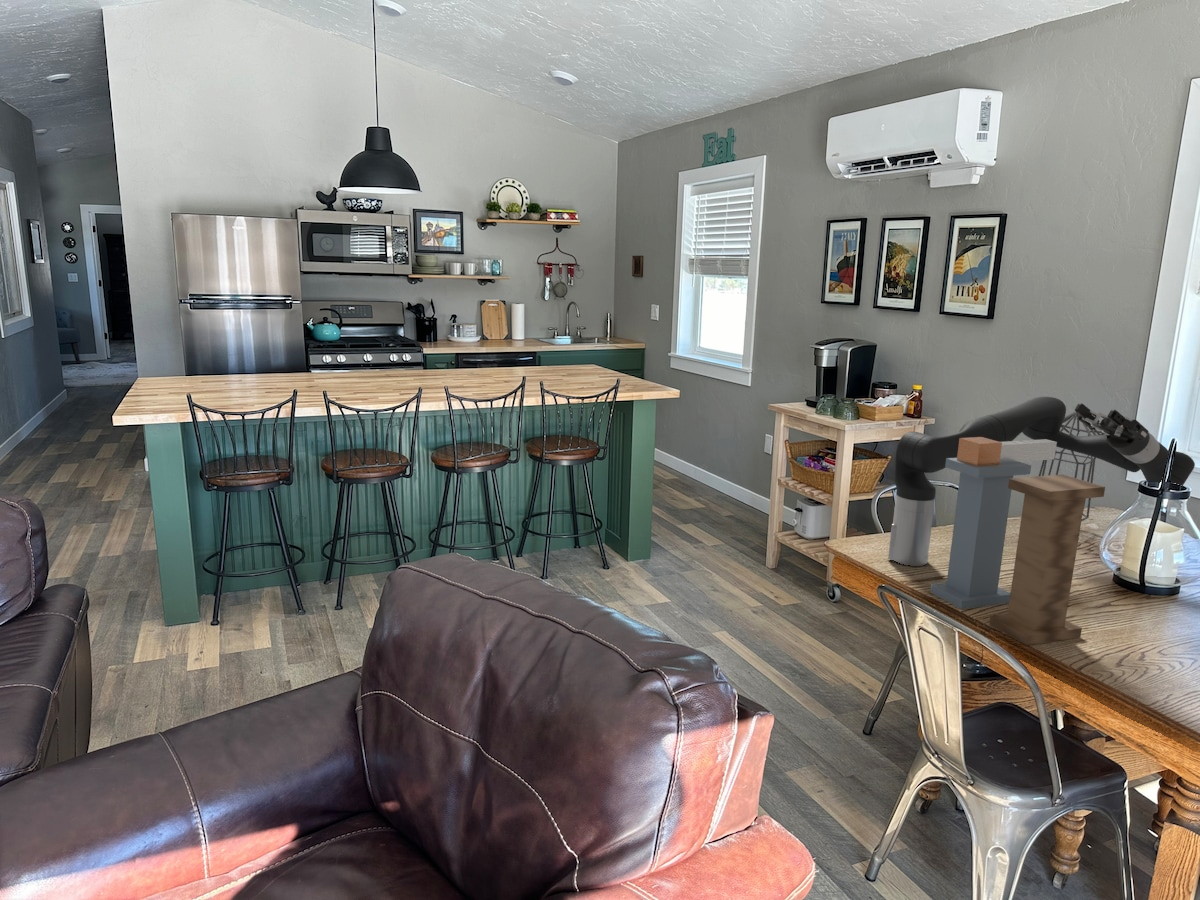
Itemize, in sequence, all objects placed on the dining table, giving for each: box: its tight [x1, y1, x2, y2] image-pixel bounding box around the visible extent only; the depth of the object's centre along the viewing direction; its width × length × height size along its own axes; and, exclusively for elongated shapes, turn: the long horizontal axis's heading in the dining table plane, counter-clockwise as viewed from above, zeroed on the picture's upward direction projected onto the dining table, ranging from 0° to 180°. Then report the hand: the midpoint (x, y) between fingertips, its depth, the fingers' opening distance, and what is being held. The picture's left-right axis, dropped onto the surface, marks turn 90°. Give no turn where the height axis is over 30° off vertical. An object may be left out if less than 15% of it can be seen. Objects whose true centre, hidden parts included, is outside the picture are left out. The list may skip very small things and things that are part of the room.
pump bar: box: [957, 437, 1057, 467], centre depth 180 cm, size 23×6×5 cm, turn 108°
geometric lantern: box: [1038, 411, 1105, 522], centre depth 233 cm, size 16×16×35 cm
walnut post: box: [988, 474, 1106, 646], centre depth 165 cm, size 14×10×32 cm
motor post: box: [929, 458, 1032, 610], centre depth 182 cm, size 14×10×32 cm
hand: (1093, 409), depth 185 cm, fingers open, 8 cm apart
